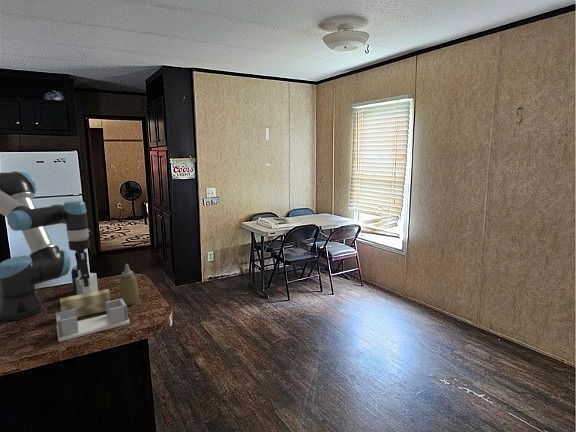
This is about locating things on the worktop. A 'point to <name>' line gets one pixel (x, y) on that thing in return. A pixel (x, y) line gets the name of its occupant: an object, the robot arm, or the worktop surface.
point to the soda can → (74, 277)
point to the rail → (86, 303)
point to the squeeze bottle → (128, 287)
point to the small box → (92, 284)
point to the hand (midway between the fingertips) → (85, 288)
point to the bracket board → (91, 321)
